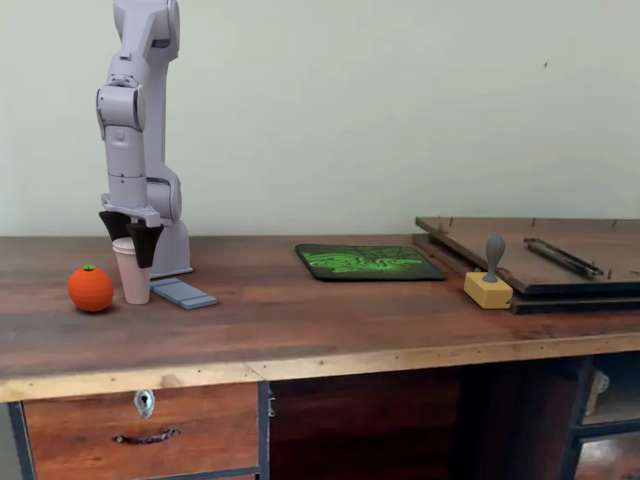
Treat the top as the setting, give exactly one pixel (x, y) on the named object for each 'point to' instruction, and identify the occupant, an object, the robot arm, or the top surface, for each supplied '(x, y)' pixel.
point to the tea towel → (182, 293)
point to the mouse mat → (367, 262)
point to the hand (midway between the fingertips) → (134, 261)
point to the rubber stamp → (489, 279)
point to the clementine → (90, 288)
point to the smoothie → (132, 271)
